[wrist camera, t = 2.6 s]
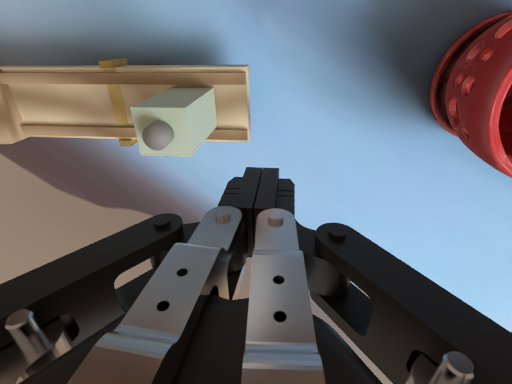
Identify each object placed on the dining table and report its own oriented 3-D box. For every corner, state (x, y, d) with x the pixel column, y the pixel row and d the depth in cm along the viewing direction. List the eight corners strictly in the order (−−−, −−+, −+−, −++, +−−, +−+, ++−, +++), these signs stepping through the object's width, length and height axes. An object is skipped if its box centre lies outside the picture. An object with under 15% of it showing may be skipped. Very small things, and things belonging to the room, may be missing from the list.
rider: (172, 87, 27) (120, 111, 19) (213, 87, 26) (179, 112, 19) (178, 124, 29) (133, 161, 21) (217, 125, 28) (186, 163, 20)
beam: (32, 56, 33) (-42, 63, 26) (253, 54, 30) (241, 62, 23) (57, 125, 37) (-1, 149, 30) (255, 130, 34) (244, 156, 27)
